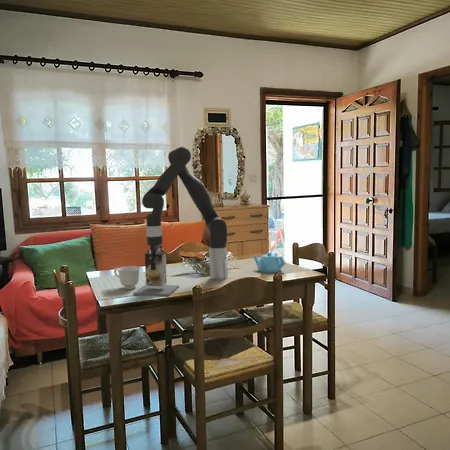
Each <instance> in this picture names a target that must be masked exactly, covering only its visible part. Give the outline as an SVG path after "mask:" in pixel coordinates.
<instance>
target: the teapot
mask: <svg viewBox="0 0 450 450" xmlns="http://www.w3.org/2000/svg"><path fill="white" fill-rule="evenodd" d="M253 260H254V261H255V263H256V266H257V270H258V271H259V272H261V273H265V274H266V273H268V274H272V273H273V274H274V273H278V272H280V271H281V270H282V268H283V267H284V266H285V265H286V262H285V258H284V256H278V253H274V254H273V253H272V252H271V251H270V252H266V254H262V255H261V256H260V259H259V257H258V256H257V255H253Z"/></svg>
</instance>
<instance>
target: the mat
mask: <svg viewBox="0 0 450 450" xmlns="http://www.w3.org/2000/svg"><path fill="white" fill-rule="evenodd" d="M178 289H180V285H179V284H177V285H176V284H175V285H174V284H173V285H172V284H165V285H164V286H146V284H144V285H143V286H141V287H140V288H138V289H137V290H136V291H134V292H133V293H132V295H133V296H146V297H147V296H149V297H152V296H153V297H170V296H171V295H172V294H173V293H174V292H176V291H177V290H178Z"/></svg>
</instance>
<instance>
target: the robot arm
mask: <svg viewBox="0 0 450 450" xmlns="http://www.w3.org/2000/svg"><path fill="white" fill-rule="evenodd" d="M167 158H168V163H169V164H170V165H168V167H167V168H166V170H164V171H163V172H162V174H160V176H159V177H158V179H157V180H156V182H155V183H154V185H153V186H152V187H151V188H150V189H149V190H147V192H146V193H144V195H143V197H142V201H141V203H142V206H143V207H144V208H145V209H151V211H152V212H151V213H148V214H147V215H146V217H145V218H146V229H145V230H146V233H145V234H146V244H147V246H149V249H147V253H148V262H151V270H155V269H156V265H155V258H156V255H155V256H154V255H153V254H157V253H158V252H163V229H162V215H163V214H162V213H163V210H164V206H165V205H164V203H165V199H164V197H163V196H165V195H167V193H168V191H169V190H170V188H171V186H172V185H173V183H174V182H175V179H176V178H177V177H179V179H180V181H181V182H182V184H183V186H184V187H185V189H186V191H187V192H188V195H189V196H190V199H191V200H192V202H193V203H194V204H195V205H194V206H196V209H198V211H199V212H200V214H201V216H202V218H203V220H204V222H205V225H206V228H207V230H208V231H209V237H210V238H209V243H208V248H209V255H208V256H209V278H210V280H219V281H221V280H226V279H228V275H229V274H228V272H229V271H228V259H227V242H228V241H227V240H228V226H227V222H226V221H225V220H224V219H222V218H220V216H219V215H218V214H217V212H216V211H215V209H214V206H213V204H212V200H211V198H210V195H209V192H208V190H207V188H206V186H205V185H204V183H203V182H202V181H201V180H200V179H199V178H197V177H196V176H194V174H192V173H191V172H190V170H189V168H188V167H187V164H188V163H189V162H190V161H191V159H192V154H191V151H190V149H188V148H187V147H186V146H180V147H177V148H175V149H174V150H171V151H170V152H169V153H168V155H167Z"/></svg>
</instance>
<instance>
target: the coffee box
mask: <svg viewBox="0 0 450 450" xmlns="http://www.w3.org/2000/svg"><path fill="white" fill-rule="evenodd" d="M153 255H154V256H155V255H156V258H155V265H156V269H155V270H151V262H148V252H146V253H144V264H145V265H144V266H145V285H146V286H164V285H167V282H168V281H167V252H166V251H162V252H158V253H157V254H153Z"/></svg>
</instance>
